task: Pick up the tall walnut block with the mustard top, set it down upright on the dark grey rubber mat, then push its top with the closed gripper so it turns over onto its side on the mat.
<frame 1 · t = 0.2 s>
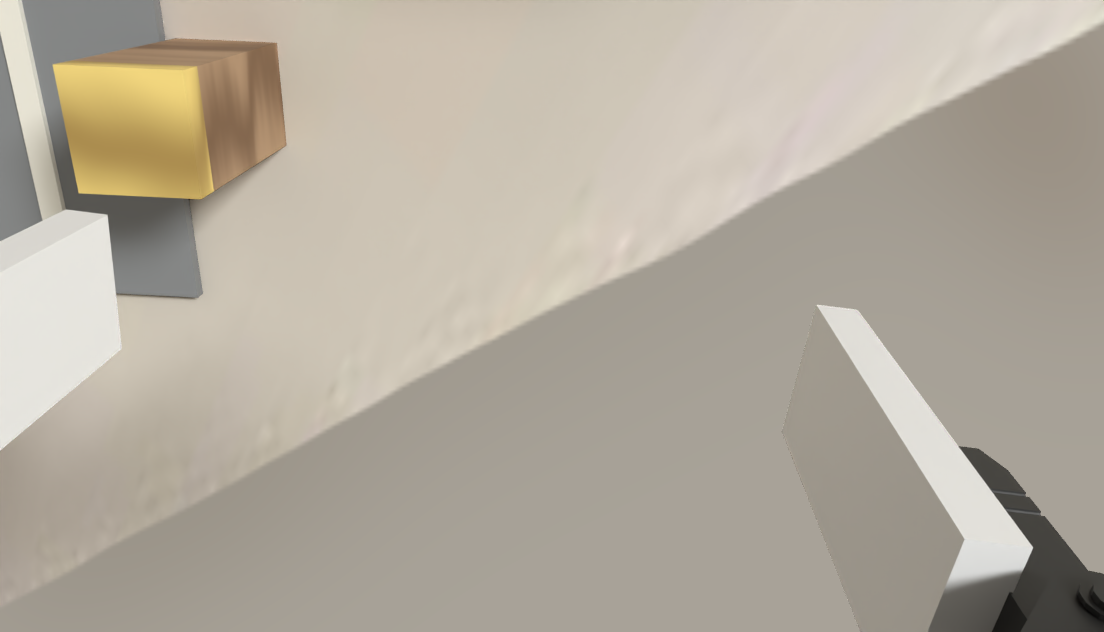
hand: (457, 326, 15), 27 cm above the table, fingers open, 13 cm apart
block: (232, 93, 41), on the table
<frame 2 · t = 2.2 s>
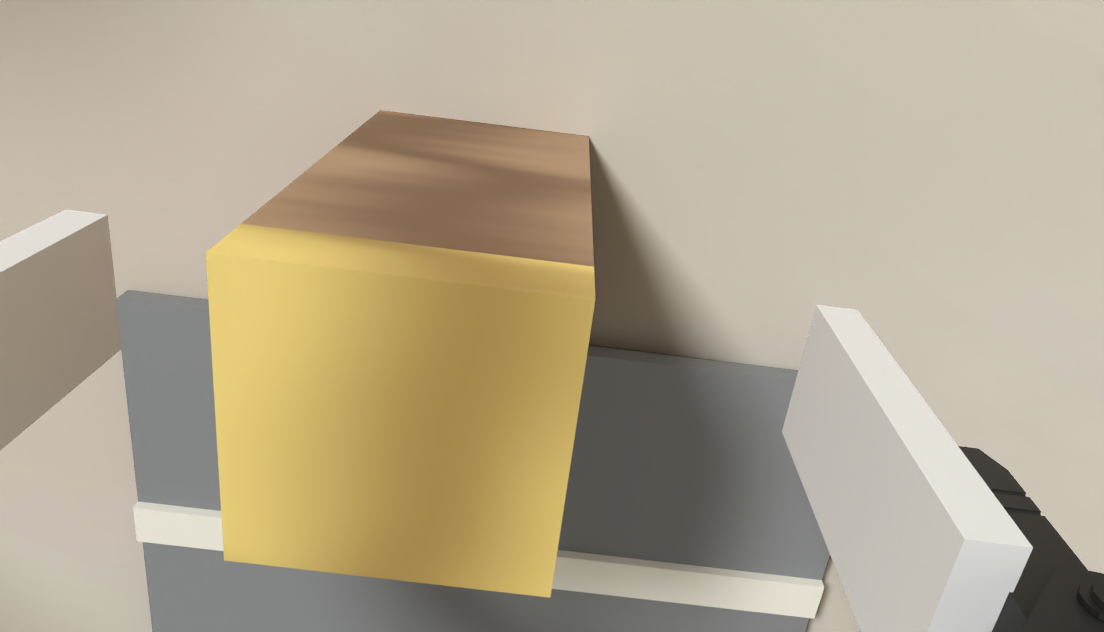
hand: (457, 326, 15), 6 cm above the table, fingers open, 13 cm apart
block: (476, 223, 21), on the table
mat: (475, 619, 26), on the table
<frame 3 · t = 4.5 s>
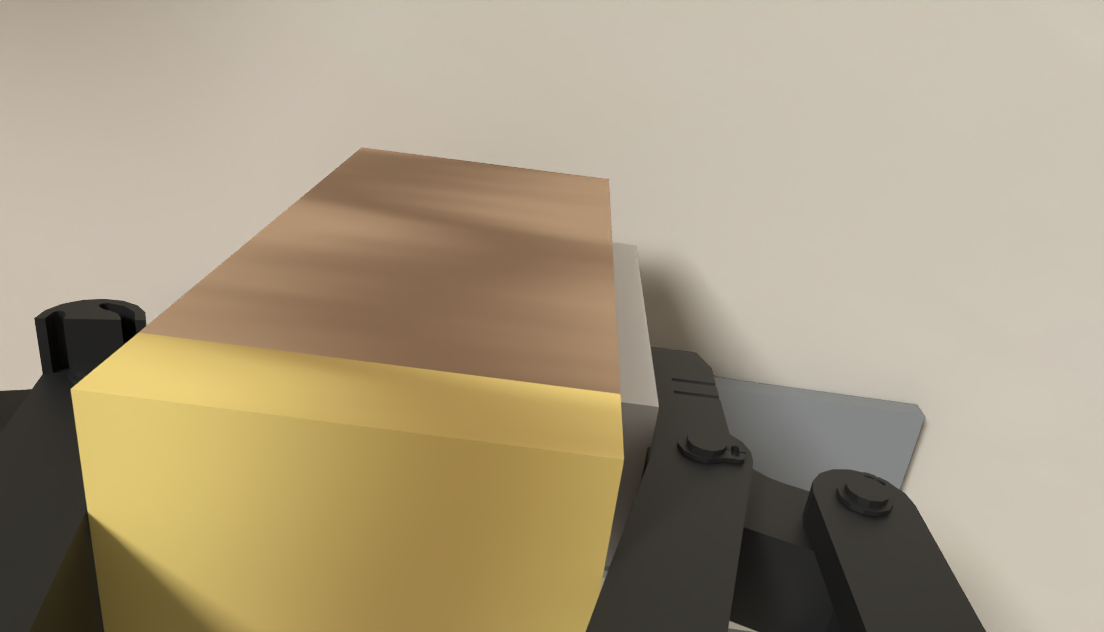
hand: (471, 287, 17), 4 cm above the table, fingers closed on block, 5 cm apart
block: (475, 278, 18), point 3 cm above the table, touching gripper
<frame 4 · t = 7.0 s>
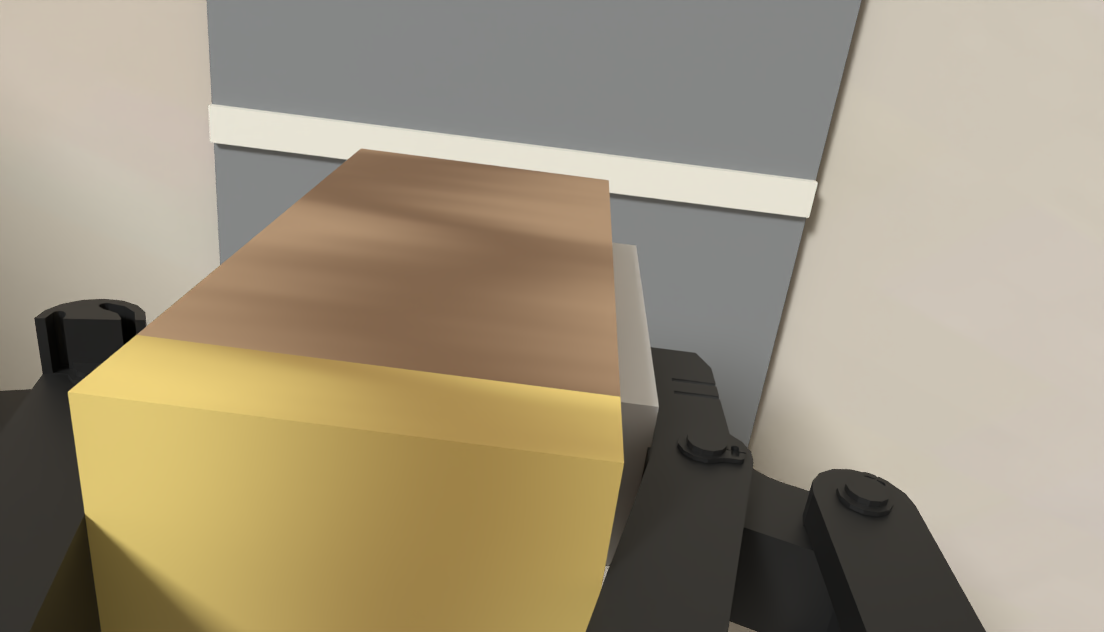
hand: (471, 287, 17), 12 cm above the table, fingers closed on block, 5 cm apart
block: (475, 279, 17), point 11 cm above the table, touching gripper
mat: (506, 239, 29), on the table
when the fingers open (1 cm above the table, at t = 9.4 s): block stays where it is, resting on mat.
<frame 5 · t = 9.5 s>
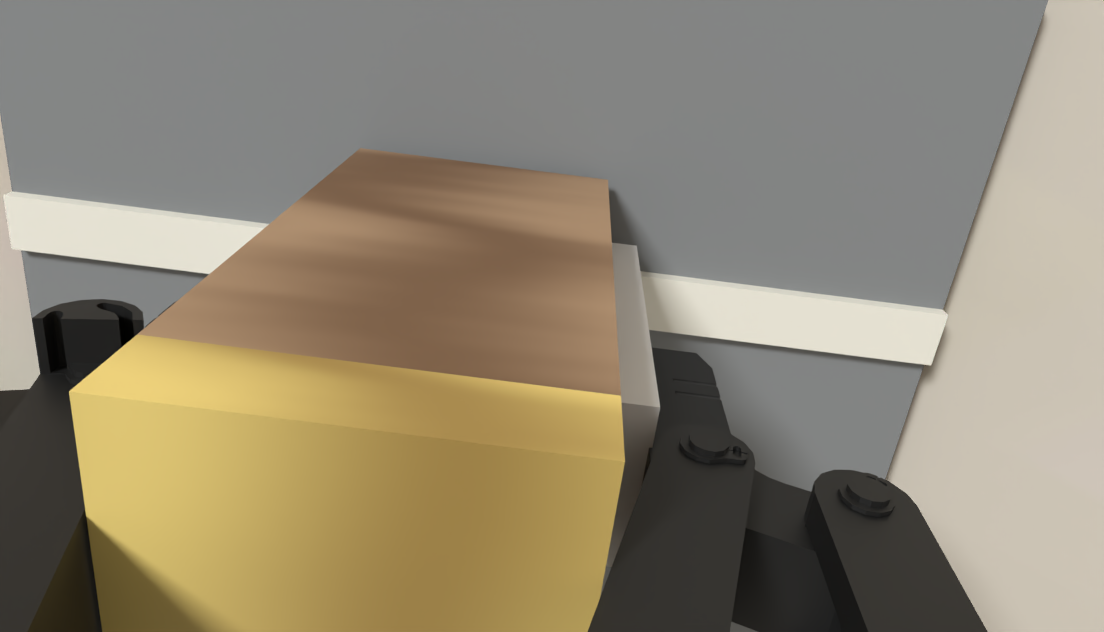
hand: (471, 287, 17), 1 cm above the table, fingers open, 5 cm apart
block: (474, 279, 18), point 1 cm above the table, touching mat
mat: (469, 384, 20), on the table
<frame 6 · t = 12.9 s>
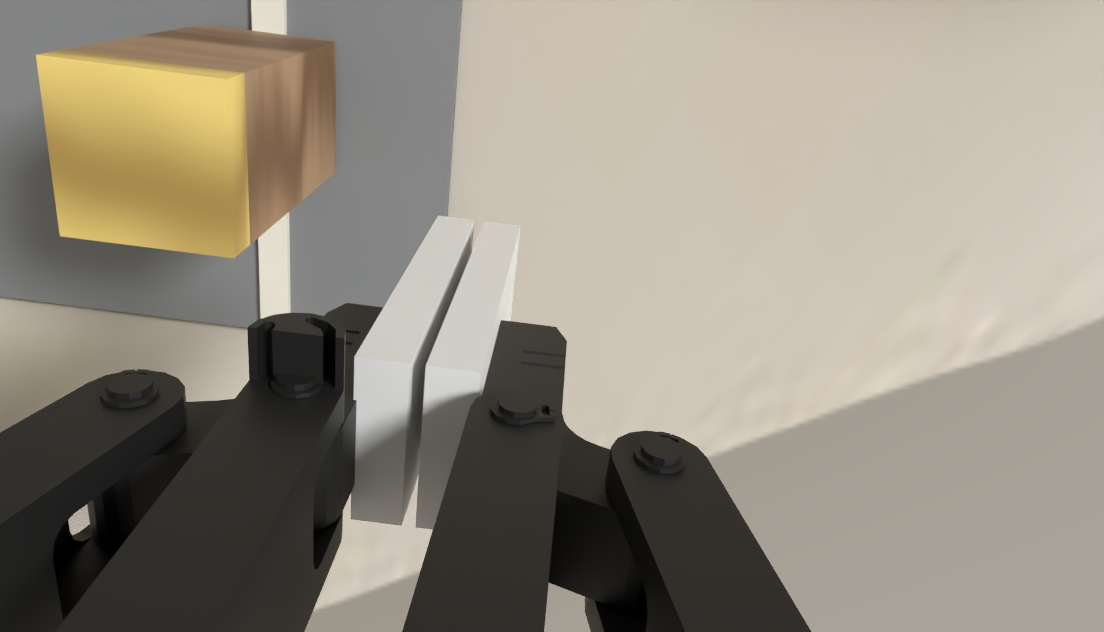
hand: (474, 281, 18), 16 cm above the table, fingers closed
block: (270, 100, 32), point 1 cm above the table, touching mat
mat: (202, 87, 32), on the table
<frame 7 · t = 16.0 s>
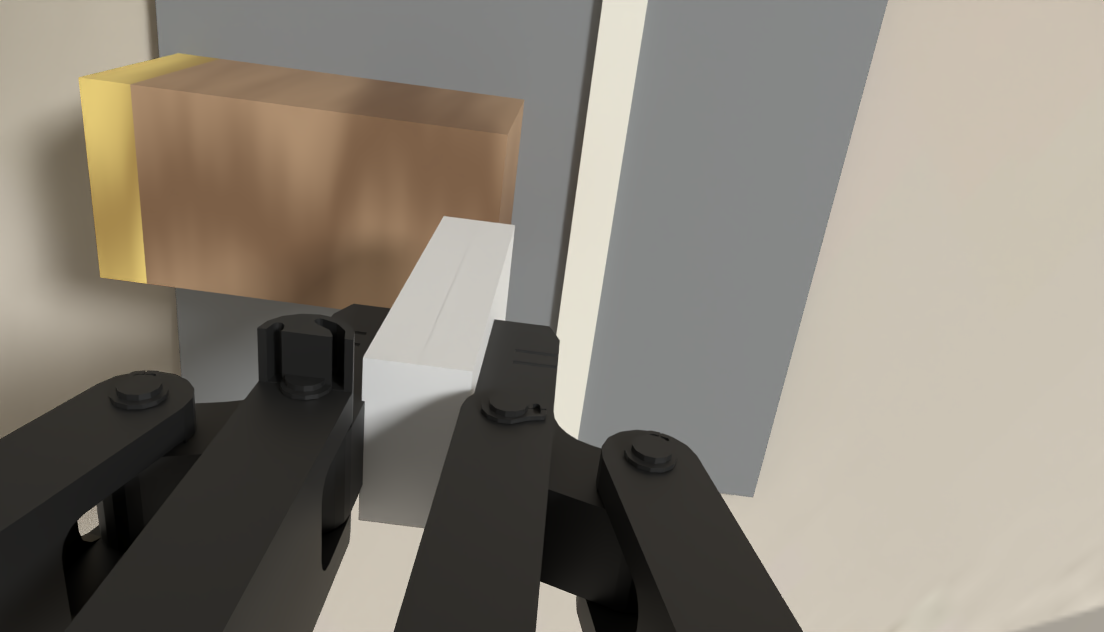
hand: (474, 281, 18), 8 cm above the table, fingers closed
block: (507, 207, 22), point 3 cm above the table, tilted 90°, touching mat
mat: (498, 177, 25), on the table
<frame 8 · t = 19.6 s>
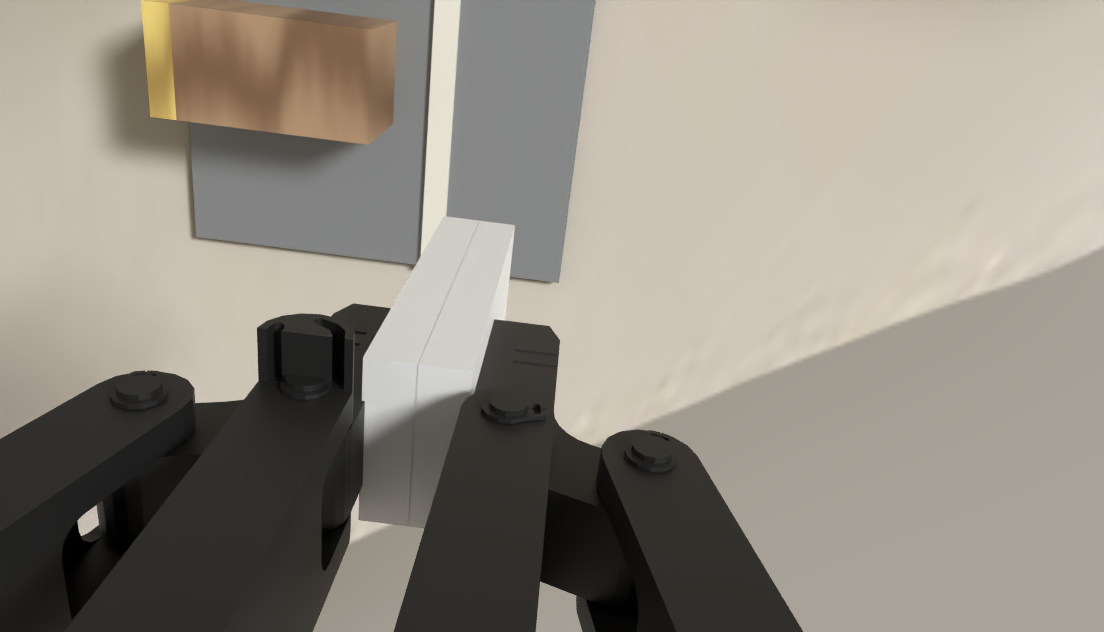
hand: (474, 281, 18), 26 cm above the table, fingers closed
block: (383, 80, 39), point 3 cm above the table, tilted 90°, touching mat
mat: (386, 71, 42), on the table
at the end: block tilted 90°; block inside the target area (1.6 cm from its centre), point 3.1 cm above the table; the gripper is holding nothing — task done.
